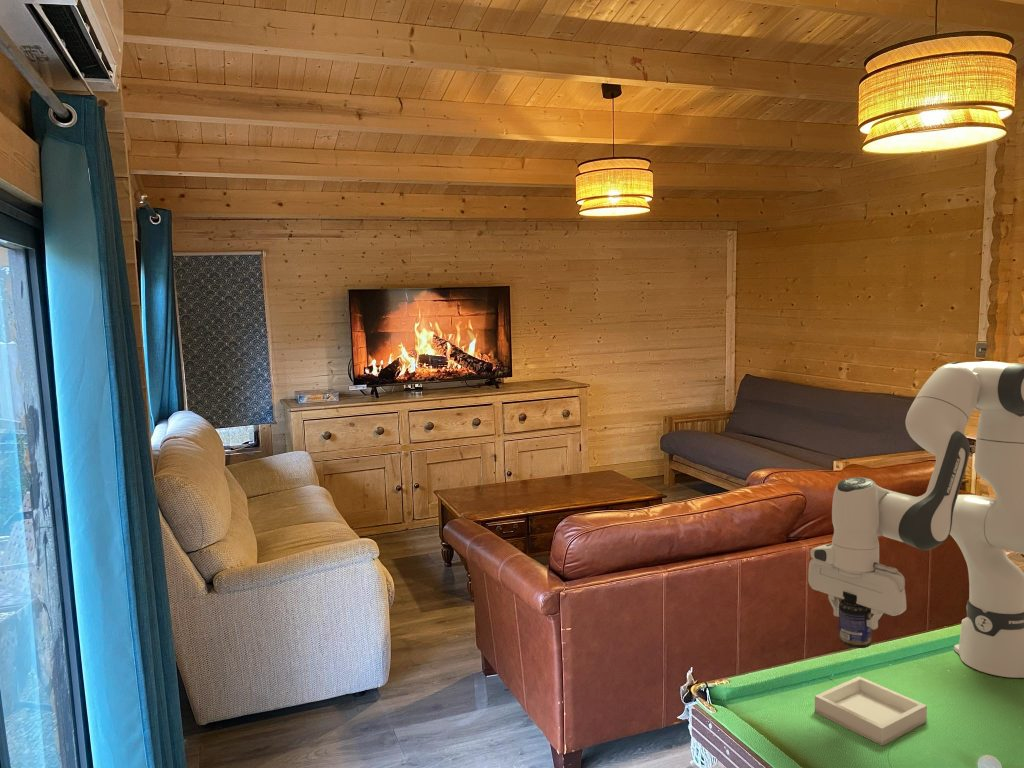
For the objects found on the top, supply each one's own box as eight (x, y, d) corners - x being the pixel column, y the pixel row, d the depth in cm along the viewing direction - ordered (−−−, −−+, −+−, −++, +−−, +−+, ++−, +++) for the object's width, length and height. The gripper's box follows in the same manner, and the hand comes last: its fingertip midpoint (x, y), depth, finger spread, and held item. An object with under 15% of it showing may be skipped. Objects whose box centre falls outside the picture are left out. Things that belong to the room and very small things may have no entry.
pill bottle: (874, 649, 149) (875, 597, 148) (842, 648, 151) (842, 596, 150) (866, 636, 155) (866, 586, 154) (835, 635, 157) (835, 585, 156)
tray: (859, 691, 162) (859, 676, 161) (926, 722, 149) (926, 705, 149) (814, 711, 154) (814, 695, 154) (882, 745, 141) (882, 728, 141)
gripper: (913, 567, 144) (913, 635, 145) (822, 542, 162) (822, 603, 163) (894, 574, 141) (894, 643, 142) (803, 548, 159) (803, 610, 160)
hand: (855, 621), depth 153 cm, fingers closed on pill bottle, 6 cm apart
